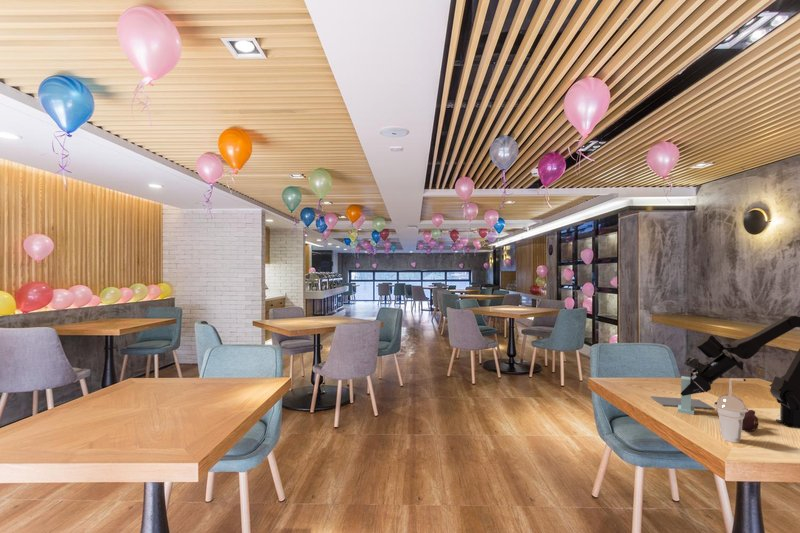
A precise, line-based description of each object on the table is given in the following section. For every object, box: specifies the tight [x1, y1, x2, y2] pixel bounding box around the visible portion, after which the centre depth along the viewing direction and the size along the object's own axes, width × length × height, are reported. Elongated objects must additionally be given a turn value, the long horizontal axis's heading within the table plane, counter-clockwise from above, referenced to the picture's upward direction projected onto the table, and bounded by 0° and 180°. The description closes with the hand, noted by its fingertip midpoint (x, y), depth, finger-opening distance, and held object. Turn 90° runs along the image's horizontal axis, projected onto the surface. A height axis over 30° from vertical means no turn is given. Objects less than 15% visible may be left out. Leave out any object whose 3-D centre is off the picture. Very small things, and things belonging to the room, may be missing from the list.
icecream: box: [742, 409, 759, 432], centre depth 141 cm, size 7×7×15 cm
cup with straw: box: [713, 377, 749, 444], centre depth 132 cm, size 8×9×20 cm
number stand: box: [677, 375, 695, 415], centre depth 160 cm, size 5×7×12 cm
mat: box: [650, 395, 716, 411], centre depth 170 cm, size 12×18×1 cm, turn 79°
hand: (681, 392), depth 161 cm, fingers open, 9 cm apart
